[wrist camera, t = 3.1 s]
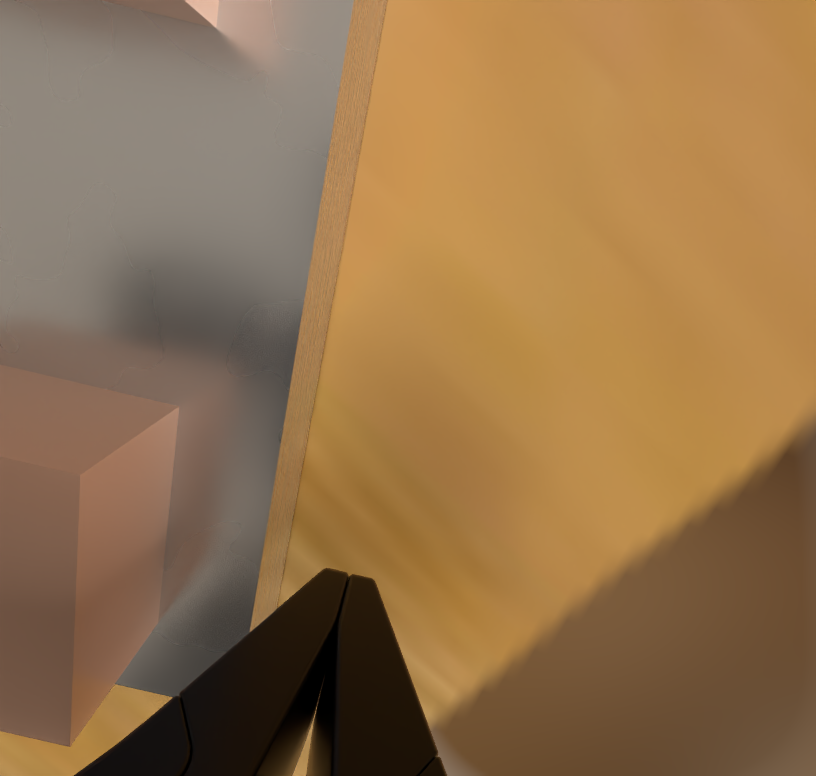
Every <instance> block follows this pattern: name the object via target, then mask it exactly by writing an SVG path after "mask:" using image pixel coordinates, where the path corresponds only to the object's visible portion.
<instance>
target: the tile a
mask: <svg viewBox="0 0 816 776" xmlns="http://www.w3.org/2000/svg"><path fill="white" fill-rule="evenodd" d="M178 414H179V406H176V405H172V404H167V403H163V402H159V401H154V400H150V399H146V398H142V397H137V396H133V395H129V394H124V393H120V392H116V391H111V390H107V389H103V388H99V387H94V386H90V385H86V384H81V383H77V382H73V381H69V380H64V379H60V378H56V377H51V376H47V375H43V374H39V373H34V372H30V371H26V370H21V369H17V368H13V367H9V366H4V365H0V731H3V732H7V733H12V734H16V735H20V736H25V737H29V738H34V739H38V740H42V741H47V742H51V743H56V744H60V745H65V746H69V747H70V746H71V745H72V743H73V742H74V741H75V739H76V738H77V736H78V735H79V733H80V732H81V731H82V729H83V728H84V726H85V725H86V724H87V722H88V721H89V719H90V718H91V717H92V715H93V714H94V712H95V711H96V710H97V708H98V707H99V705H100V704H101V703H102V701H103V700H104V698H105V697H106V695H107V694H108V693H109V691H110V690H111V688H112V687H113V686H114V684H115V683H116V681H117V680H118V679H119V677H120V676H121V674H122V673H123V672H124V670H125V669H126V667H127V666H128V665H129V663H130V662H131V660H132V659H133V657H134V656H135V655H136V653H137V652H138V650H139V649H140V648H141V646H142V645H143V643H144V642H145V641H146V639H147V638H148V636H149V635H150V634H151V632H152V631H153V629H154V628H155V627H156V625H157V624H158V618H159V608H160V598H161V588H162V578H163V567H164V557H165V547H166V537H167V527H168V516H169V506H170V496H171V486H172V475H173V465H174V455H175V445H176V435H177V424H178Z"/></svg>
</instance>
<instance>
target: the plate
mask: <svg viewBox="0 0 816 776" xmlns="http://www.w3.org/2000/svg"><path fill="white" fill-rule="evenodd" d="M386 3H387V0H219V6H218V16H217V26H216V28H214V27H209V26H205V25H201V24H197V23H193V22H189V21H185V20H180V19H176V18H172V17H168V16H164V15H160V14H155V13H151V12H147V11H143V10H139V9H135V8H130V7H126V6H122V5H118V4H114V3H110V2H105V1H101V0H0V365H4V366H9V367H13V368H17V369H21V370H26V371H30V372H34V373H39V374H43V375H47V376H51V377H56V378H60V379H64V380H69V381H73V382H77V383H81V384H86V385H90V386H94V387H99V388H103V389H107V390H111V391H116V392H120V393H124V394H129V395H133V396H137V397H142V398H146V399H150V400H154V401H159V402H163V403H167V404H172V405H176V406H179V414H178V424H177V435H176V445H175V455H174V465H173V475H172V486H171V496H170V506H169V516H168V527H167V537H166V547H165V557H164V567H163V578H162V588H161V598H160V608H159V618H158V624H157V625H156V627H155V628H154V629H153V631H152V632H151V634H150V635H149V636H148V638H147V639H146V641H145V642H144V643H143V645H142V646H141V648H140V649H139V650H138V652H137V653H136V655H135V656H134V657H133V659H132V660H131V662H130V663H129V665H128V666H127V667H126V669H125V670H124V672H123V673H122V674H121V676H120V677H119V679H118V680H117V681H116V683H115V684H118V685H122V686H126V687H131V688H135V689H140V690H144V691H148V692H153V693H157V694H161V695H166V696H170V697H174V696H179V693H180V692H181V691H182V690H183V689H184V688H185V687H187V686H188V685H189V684H190V683H191V682H192V681H194V680H195V679H196V678H197V677H198V676H199V675H201V674H202V673H203V672H204V671H205V670H206V669H208V668H209V667H210V666H211V665H212V664H213V663H215V662H216V661H217V660H218V659H219V658H220V657H222V656H223V655H224V654H225V653H226V652H227V651H228V650H230V649H231V648H232V647H233V646H234V645H235V644H237V643H238V642H239V641H240V640H241V639H242V638H244V637H245V636H246V635H247V634H248V633H249V632H251V631H252V630H253V629H254V628H255V627H256V626H258V625H259V624H260V623H261V622H262V621H263V620H265V619H266V618H267V617H268V616H269V615H270V614H272V613H273V612H274V611H275V610H276V609H277V603H278V598H279V592H280V587H281V581H282V576H283V570H284V565H285V559H286V554H287V548H288V543H289V537H290V532H291V526H292V521H293V515H294V510H295V504H296V499H297V493H298V488H299V482H300V477H301V471H302V466H303V460H304V455H305V449H306V444H307V438H308V433H309V427H310V422H311V416H312V411H313V405H314V400H315V394H316V388H317V383H318V377H319V372H320V366H321V361H322V355H323V350H324V344H325V339H326V333H327V328H328V322H329V317H330V311H331V306H332V300H333V295H334V289H335V284H336V278H337V273H338V267H339V262H340V256H341V251H342V245H343V240H344V234H345V229H346V223H347V218H348V212H349V207H350V201H351V196H352V190H353V184H354V179H355V173H356V168H357V162H358V157H359V151H360V146H361V140H362V135H363V129H364V124H365V118H366V113H367V107H368V102H369V96H370V91H371V85H372V80H373V74H374V69H375V63H376V58H377V52H378V47H379V41H380V36H381V30H382V25H383V19H384V14H385V8H386Z"/></svg>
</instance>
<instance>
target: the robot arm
mask: <svg viewBox="0 0 816 776" xmlns="http://www.w3.org/2000/svg"><path fill="white" fill-rule="evenodd" d="M348 578H349V579H348ZM319 696H320V697H319ZM318 700H319V701H318ZM317 704H318V705H317ZM316 707H317V710H316ZM315 711H316V714H315ZM314 714H315V719H314V724H313V730H312V737H311V744H310V751H309V759H308V766H307V774H306V776H447V774H446V771H445V769H444V766H443V763H442V760H441V758H440V757H438V750H437V747H436V745H435V742H434V739H433V736H432V734H431V731H430V728H429V726H428V723H427V720H426V718H425V715H424V712H423V709H422V707H421V704H420V701H419V699H418V696H417V693H416V691H415V688H414V685H413V682H412V680H411V677H410V674H409V672H408V669H407V666H406V663H405V661H404V658H403V655H402V653H401V650H400V647H399V645H398V642H397V639H396V636H395V634H394V631H393V628H392V626H391V623H390V620H389V617H388V615H387V612H386V609H385V607H384V604H383V601H382V599H381V596H380V593H379V590H378V588H377V585H376V583H375V581H374V580H373V579H372V578H368V577H364V576H359V575H355V574H352V575H351V576H350V577H349V576H348V574H347V573H346V572H343V571H338V570H334V569H330V568H325V569H323V570H322V571H321V572H319V573H318V574H317V575H316V576H315V577H314V578H312V579H311V580H310V581H309V582H308V583H307V584H305V585H304V586H303V587H302V588H301V589H300V590H298V591H297V592H296V593H295V594H294V595H293V596H291V597H290V598H289V599H288V600H287V601H286V602H284V603H283V604H282V605H281V606H280V607H279V608H277V609H276V610H275V611H274V612H273V613H272V614H270V615H269V616H268V617H267V618H266V619H265V620H263V621H262V622H261V623H260V624H259V625H258V626H256V627H255V628H254V629H253V630H252V631H251V632H249V633H248V634H247V635H246V636H245V637H244V638H242V639H241V640H240V641H239V642H238V643H237V644H235V645H234V646H233V647H232V648H231V649H230V650H228V651H227V652H226V653H225V654H224V655H223V656H222V657H220V658H219V659H218V660H217V661H216V662H215V663H213V664H212V665H211V666H210V667H209V668H208V669H206V670H205V671H204V672H203V673H202V674H201V675H199V676H198V677H197V678H196V679H195V680H194V681H192V682H191V683H190V684H189V685H188V686H187V687H185V688H184V689H183V690H182V691H181V692H180V693H179V696H174V697H173V698H172V699H171V700H170V701H169V702H167V703H166V704H165V705H164V706H163V707H162V708H160V709H159V710H158V711H157V712H156V713H155V714H154V715H152V716H151V717H150V718H149V719H147V720H146V721H145V722H144V723H143V724H141V725H140V726H139V727H138V728H136V729H135V730H134V731H133V732H131V733H130V734H129V735H128V736H126V737H125V738H124V739H123V740H122V741H120V742H119V743H118V744H117V745H115V746H114V747H112V748H111V749H110V750H108V751H107V752H106V753H104V754H103V755H101V756H100V757H99V758H97V759H96V760H95V761H93V762H92V763H90V764H89V765H88V766H86V767H85V768H84V769H82V770H81V771H79V772H78V773H77V774H75V775H74V776H292V775H293V773H294V770H295V767H296V765H297V762H298V759H299V757H300V754H301V751H302V749H303V746H304V743H305V741H306V738H307V735H308V733H309V730H310V727H311V724H312V721H313V718H314Z"/></svg>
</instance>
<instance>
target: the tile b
mask: <svg viewBox="0 0 816 776" xmlns="http://www.w3.org/2000/svg"><path fill="white" fill-rule="evenodd" d="M101 1H105V2H110V3H114V4H118V5H122V6H126V7H130V8H135V9H139V10H143V11H147V12H151V13H155V14H160V15H164V16H168V17H172V18H176V19H180V20H185V21H189V22H193V23H197V24H201V25H205V26H209V27H214V28H216V26H217V16H218V6H219V0H101Z"/></svg>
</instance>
